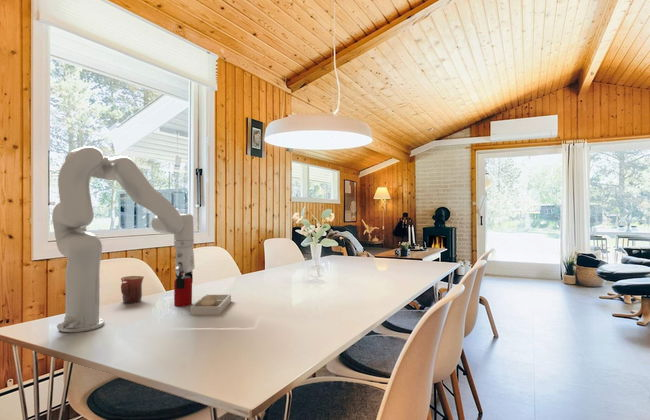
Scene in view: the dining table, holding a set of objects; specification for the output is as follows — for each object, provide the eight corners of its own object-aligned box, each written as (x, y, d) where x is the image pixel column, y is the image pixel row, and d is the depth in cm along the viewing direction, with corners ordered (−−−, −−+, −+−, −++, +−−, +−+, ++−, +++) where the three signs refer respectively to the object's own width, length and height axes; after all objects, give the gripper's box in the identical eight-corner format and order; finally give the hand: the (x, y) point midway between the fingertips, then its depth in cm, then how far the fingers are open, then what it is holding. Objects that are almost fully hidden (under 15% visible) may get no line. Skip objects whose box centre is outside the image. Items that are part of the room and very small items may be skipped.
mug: (127, 299, 164) (127, 275, 164) (147, 299, 163) (147, 275, 163) (111, 306, 152) (111, 280, 152) (132, 306, 151) (133, 280, 151)
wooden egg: (214, 313, 140) (214, 297, 140) (198, 313, 140) (198, 297, 140) (218, 308, 146) (218, 293, 146) (203, 308, 146) (203, 293, 146)
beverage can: (194, 304, 155) (194, 275, 155) (187, 308, 149) (187, 278, 149) (179, 303, 156) (179, 275, 156) (170, 307, 149) (171, 277, 149)
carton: (219, 316, 138) (219, 306, 138) (190, 316, 138) (190, 307, 138) (231, 302, 158) (231, 294, 158) (205, 302, 158) (205, 294, 158)
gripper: (186, 246, 144) (187, 290, 144) (199, 241, 161) (200, 281, 162) (166, 246, 144) (167, 291, 144) (181, 242, 161) (182, 281, 161)
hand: (184, 285), depth 153 cm, fingers open, 9 cm apart
